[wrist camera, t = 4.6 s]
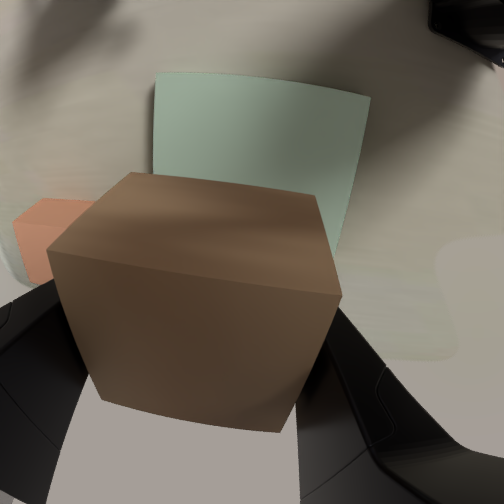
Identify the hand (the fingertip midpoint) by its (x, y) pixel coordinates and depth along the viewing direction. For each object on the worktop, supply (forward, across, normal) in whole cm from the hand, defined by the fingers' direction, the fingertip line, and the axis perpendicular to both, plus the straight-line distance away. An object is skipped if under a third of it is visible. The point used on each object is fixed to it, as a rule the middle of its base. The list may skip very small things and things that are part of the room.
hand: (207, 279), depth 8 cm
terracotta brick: (+11, +12, +6) cm, 17 cm away
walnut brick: (+1, 0, 0) cm, 1 cm away
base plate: (+11, -1, 0) cm, 11 cm away
